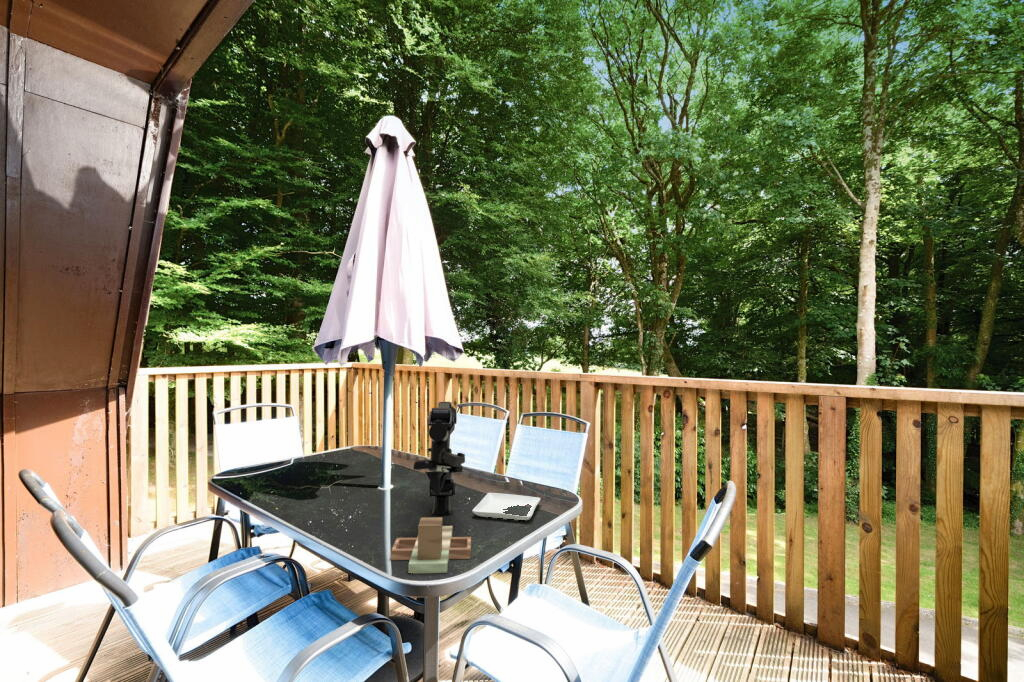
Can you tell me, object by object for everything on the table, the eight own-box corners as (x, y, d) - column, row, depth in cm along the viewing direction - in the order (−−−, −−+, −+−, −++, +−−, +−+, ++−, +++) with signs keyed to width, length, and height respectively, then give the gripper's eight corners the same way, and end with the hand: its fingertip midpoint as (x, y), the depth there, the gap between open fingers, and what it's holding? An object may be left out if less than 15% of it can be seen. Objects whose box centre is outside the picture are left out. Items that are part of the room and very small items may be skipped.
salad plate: (530, 526, 156) (530, 515, 156) (470, 519, 161) (471, 509, 161) (541, 505, 176) (541, 496, 176) (487, 500, 181) (488, 492, 181)
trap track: (401, 534, 146) (401, 526, 146) (471, 533, 148) (471, 525, 148) (385, 574, 120) (385, 564, 120) (469, 572, 122) (469, 562, 122)
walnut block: (420, 550, 129) (420, 517, 129) (441, 549, 129) (442, 517, 130) (417, 559, 123) (418, 525, 123) (440, 559, 123) (440, 525, 124)
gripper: (441, 440, 142) (438, 493, 137) (475, 446, 158) (474, 494, 152) (413, 443, 148) (410, 494, 142) (449, 448, 163) (448, 495, 157)
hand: (437, 494), depth 148 cm, fingers closed
